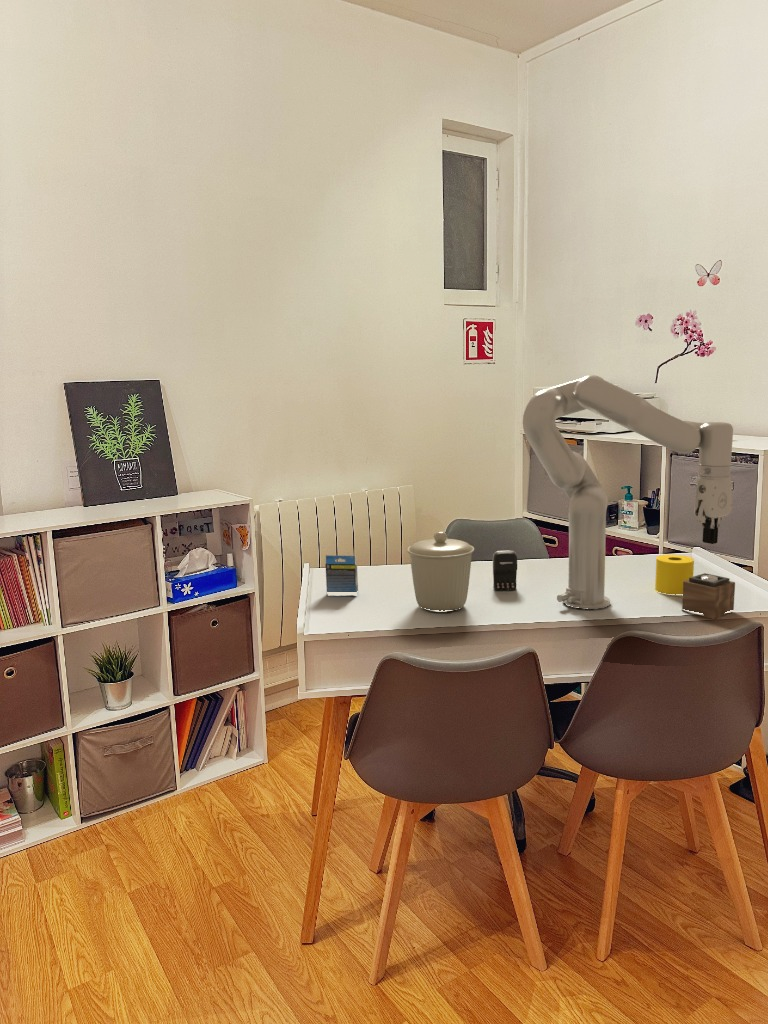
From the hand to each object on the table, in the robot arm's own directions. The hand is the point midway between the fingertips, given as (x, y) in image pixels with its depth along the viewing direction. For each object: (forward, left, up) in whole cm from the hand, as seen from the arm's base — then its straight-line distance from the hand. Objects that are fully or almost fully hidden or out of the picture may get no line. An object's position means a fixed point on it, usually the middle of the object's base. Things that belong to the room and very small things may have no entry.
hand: (709, 542), depth 204 cm
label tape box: (-64, +76, -19) cm, 101 cm away
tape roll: (+10, +17, -19) cm, 27 cm away
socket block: (0, 0, -18) cm, 18 cm away
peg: (0, 0, -17) cm, 17 cm away
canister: (-50, +48, -19) cm, 71 cm away
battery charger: (-25, +49, -19) cm, 58 cm away
